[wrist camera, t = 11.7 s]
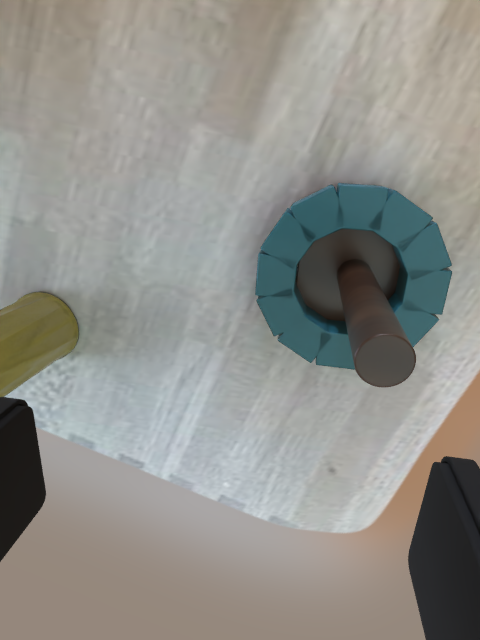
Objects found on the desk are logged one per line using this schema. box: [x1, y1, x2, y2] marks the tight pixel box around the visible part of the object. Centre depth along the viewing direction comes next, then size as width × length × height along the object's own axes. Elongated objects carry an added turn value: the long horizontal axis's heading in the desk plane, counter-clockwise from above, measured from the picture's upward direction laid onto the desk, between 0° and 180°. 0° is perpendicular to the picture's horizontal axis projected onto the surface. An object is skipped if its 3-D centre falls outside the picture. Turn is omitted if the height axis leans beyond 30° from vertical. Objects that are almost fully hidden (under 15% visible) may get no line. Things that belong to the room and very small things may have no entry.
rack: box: [296, 229, 416, 387], centre depth 24 cm, size 8×8×15 cm
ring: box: [255, 183, 452, 369], centre depth 29 cm, size 12×12×3 cm
